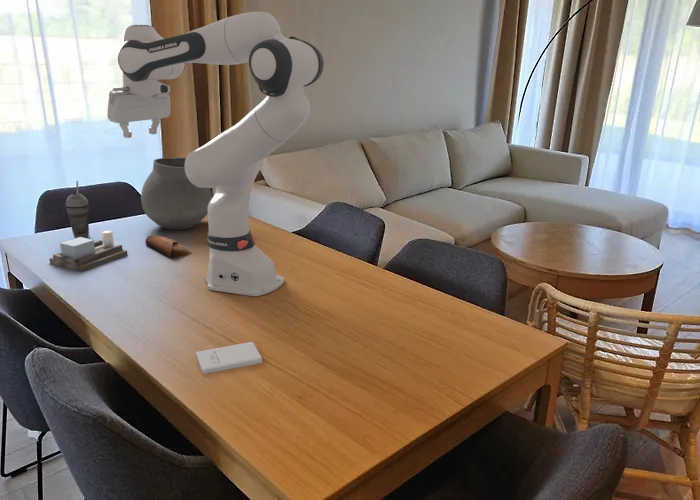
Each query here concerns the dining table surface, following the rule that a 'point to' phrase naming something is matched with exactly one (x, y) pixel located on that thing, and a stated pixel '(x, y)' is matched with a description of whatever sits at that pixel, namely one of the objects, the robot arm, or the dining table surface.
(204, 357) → the external hard drive
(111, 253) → the tray
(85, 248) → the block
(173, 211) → the ceramic pot
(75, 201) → the beverage cup
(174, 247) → the sunglasses case
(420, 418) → the dining table surface
